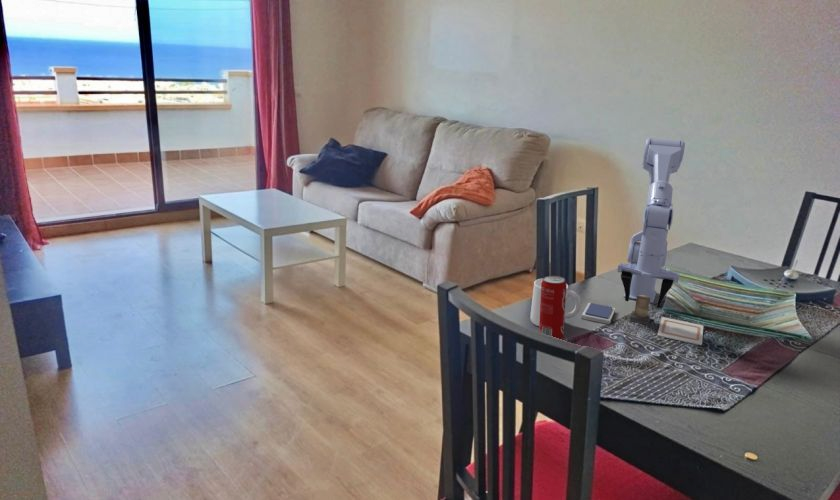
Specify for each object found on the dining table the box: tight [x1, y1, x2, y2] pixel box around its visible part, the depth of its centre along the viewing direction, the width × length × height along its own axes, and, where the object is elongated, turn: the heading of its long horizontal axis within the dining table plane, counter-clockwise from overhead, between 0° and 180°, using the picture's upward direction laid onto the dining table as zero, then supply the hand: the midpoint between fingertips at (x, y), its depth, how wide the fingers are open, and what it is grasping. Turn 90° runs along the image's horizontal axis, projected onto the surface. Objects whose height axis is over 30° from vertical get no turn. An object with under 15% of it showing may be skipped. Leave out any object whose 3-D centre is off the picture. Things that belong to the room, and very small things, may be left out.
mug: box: [529, 277, 582, 327], centre depth 151 cm, size 12×8×10 cm
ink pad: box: [581, 302, 616, 325], centre depth 158 cm, size 9×7×1 cm
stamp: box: [629, 295, 651, 325], centre depth 156 cm, size 4×4×6 cm
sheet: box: [656, 316, 704, 346], centre depth 151 cm, size 12×10×1 cm
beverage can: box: [538, 275, 568, 340], centre depth 142 cm, size 6×6×15 cm
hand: (642, 302), depth 155 cm, fingers open, 7 cm apart
